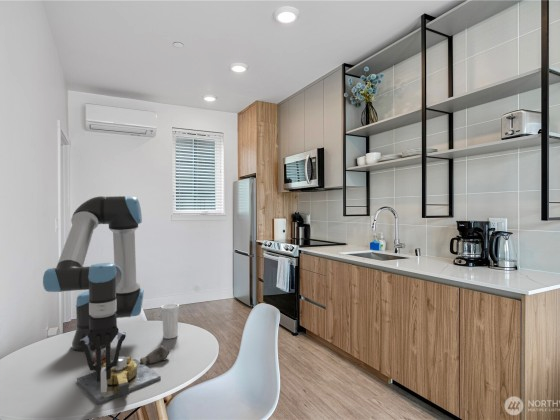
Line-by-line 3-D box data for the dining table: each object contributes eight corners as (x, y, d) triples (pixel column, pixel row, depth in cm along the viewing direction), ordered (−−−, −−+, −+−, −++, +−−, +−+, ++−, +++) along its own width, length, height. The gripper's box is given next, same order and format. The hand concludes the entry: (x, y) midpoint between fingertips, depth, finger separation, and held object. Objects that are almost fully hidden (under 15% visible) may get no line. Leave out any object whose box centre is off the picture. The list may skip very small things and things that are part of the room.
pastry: (91, 359, 132) (90, 346, 132) (112, 355, 135) (112, 343, 135) (87, 368, 125) (87, 354, 125) (110, 364, 128) (109, 351, 128)
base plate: (76, 381, 115) (76, 360, 115) (135, 361, 129) (134, 343, 129) (99, 406, 100) (99, 382, 100) (162, 380, 115) (162, 359, 115)
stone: (140, 370, 124) (154, 357, 123) (135, 356, 127) (149, 344, 126) (160, 366, 133) (174, 354, 131) (156, 354, 136) (169, 342, 134)
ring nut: (99, 373, 117) (99, 361, 117) (133, 365, 123) (133, 354, 123) (103, 401, 100) (103, 387, 100) (143, 390, 105) (143, 377, 105)
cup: (176, 340, 150) (176, 308, 150) (158, 340, 150) (157, 308, 150) (181, 333, 158) (181, 303, 158) (164, 333, 158) (164, 303, 158)
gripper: (76, 320, 98) (77, 401, 98) (125, 314, 103) (126, 391, 103) (80, 313, 105) (81, 388, 105) (126, 308, 110) (127, 380, 110)
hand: (104, 390), depth 104 cm, fingers closed
